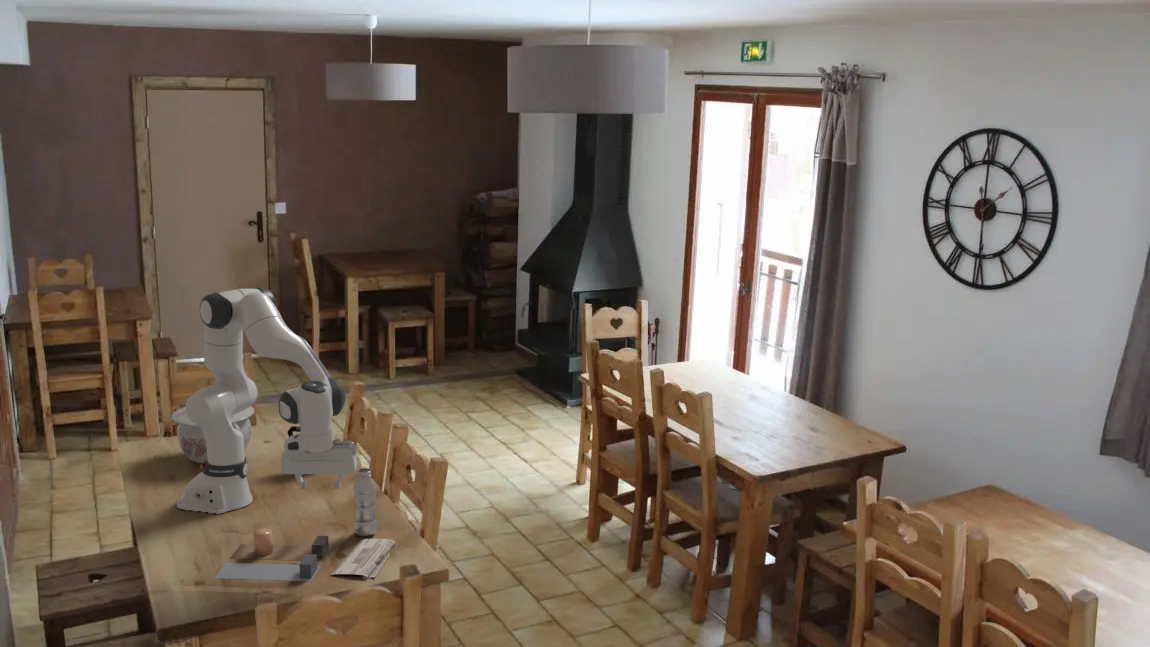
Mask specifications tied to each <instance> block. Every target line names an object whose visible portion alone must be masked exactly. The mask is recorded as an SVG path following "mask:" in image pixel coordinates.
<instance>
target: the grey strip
mask: <svg viewBox="0 0 1150 647" xmlns="http://www.w3.org/2000/svg"><path fill="white" fill-rule="evenodd" d="M320 568H321V565H319V564H318V561H317V554H306V555H305V556H304V558H303V559H302V561H300V562H299V564H284V563H258V562H257V563H255V562H252V563H251V562H226V563H224V565H223V566H222V567H221V569H220V570H219V571H218V572H217V574H216V575H215V576H214V577H213V579H226V580H227V579H228V580H254V581H257V580H258V581H260V580H261V581H288V582H291V581H293V582H312V581H313V579H314V578H315V577H316V574H317V573H318V572H319V571H320V570H319V569H320Z"/></svg>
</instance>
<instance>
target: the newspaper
mask: <svg viewBox="0 0 1150 647" xmlns="http://www.w3.org/2000/svg"><path fill="white" fill-rule="evenodd" d="M395 545H396V541H394V540H393V539H388V538H363V539H361V540H360V541H358V542H357V544H356V545H355V546H354V547H353V549H352V550H351V551H350V552H349V553H348V554H347V556H345V558H344V559H343V560H342V561H341V563H339V564H338V566H337V567H336V568H335V569H334V571H333V572H332V573H331V574H330V575H329V576H334V575H359V576H362V577H361V578H362V579H364V580H366V579H369V578H376V577H377V575H378V574H379V572H380V570H381V569H382V567H383V565H384V564H385V563H386V561H387V560H388V558H390V556H391V555H390V554H389V553H390V552H389V551H390V549H391V548H392V549H393V548H394V546H395ZM388 552H389V553H388ZM387 553H388V554H387ZM386 554H387V555H386ZM385 555H386V556H385ZM384 556H385V557H384ZM370 574H371V575H370ZM368 576H369V577H368Z"/></svg>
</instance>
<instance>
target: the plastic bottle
mask: <svg viewBox="0 0 1150 647" xmlns="http://www.w3.org/2000/svg"><path fill="white" fill-rule="evenodd" d="M357 478H358V479H356V481H355V482H354V484H353V486H352V489H353V494H354V495H353V496H354V501H355V519H354V523H353V527H354V532H355V534H356V535H357V536H360V537H370V536H373V535H374V534H375V533H376V532H377V530H378V522H377V521H378V520H377V517H376V510H375V508H376V505H375V504H376V503H375V502H376V492H377V485H376V482H375V481H374V480H373V479H372V472H371V469H370V468H366V467H365V468H364V467H363V468H359V469H358V470H357Z"/></svg>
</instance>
